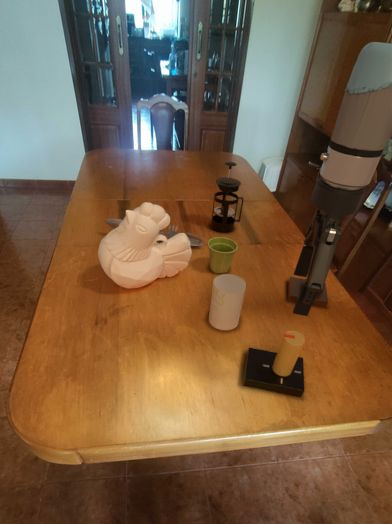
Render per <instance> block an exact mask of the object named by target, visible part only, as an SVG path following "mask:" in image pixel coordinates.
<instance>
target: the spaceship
mask: <svg viewBox="0 0 392 524" xmlns="http://www.w3.org/2000/svg"><path fill="white" fill-rule="evenodd" d="M123 220H124V219H120V218H116V217H106V218H105V219H104V222H105V224H106V225H108V226H110V227H112V228H117V227H118V226H119V224H120V223H121V222H122V221H123ZM178 227H179V226H177V225H176V226H175V225H174V224H173V225H172V224H169V225H168V230H167V231H166V232H164V231H163V229H162V230H160V231H159V233H158V234H162V235H164V236H165V237H166V238H167V240H168V239H170V238H171V237H173V236H175V235H177V234H178ZM184 233H185V234H186V235H187V237H188V239H189V241H190V247H202V246H204V242H205V240H204V239H202V238H201V237H199V236H197V235H195V234H194V233H191V232H184Z"/></svg>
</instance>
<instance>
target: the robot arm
mask: <svg viewBox="0 0 392 524" xmlns="http://www.w3.org/2000/svg"><path fill="white" fill-rule="evenodd" d="M329 139H330V140H329V142H328V146H327V152H322V153H321V155H320V157H319V159H320V160H321V161H322V164H321V168H320V170H319V175H320V177H319V178H316V179H317V180H316V181H315V185H314V187H313V191H312V194H311V197H310V203H311V206H312V207H314V208H315V212H314V213H313V216H312V218H311V220H310V223H309V225H308V227H307V229H306V232H305V233H304V240H303V246H302V248H301V251H300V254H299V257H298V260H297V263H296V265H295V269H294V271H293V276H298V277H303V278H305V279H306V282H302V283H301V286H302V288H301V291H300V294H299V296H298V299H297V302H295V305H294V307H293V309H292V314H293V315H299V316H303V317H308V316H309V313H310V311H311V309H312V308H313V305H312V304H313V302H314V300H315V297H316V295H317V293H318V292H322V291H323V289H324V284H325V283H326V282H327V279H328V278H327V277H328V274H329V270H330V268H331V266H332V265H331V264H332V261H333V258H334V255H335V252H336V247H337V245H338V243H339V240H340V237H341V236H342V233H343V232H342V230H343V229H341V226H342V223H341V222H340V220H341V218H342V217H344V216H351V215H354V214H355V213H356V212H357V211H358V209H359V207H360V205H361V202H362V201H363V198H364V196H365V194H366V191H367V189H366V186H368V185H370V183H371V181H372V179H373V177H374V174H375V172H376V169H377V167H378V165H379V162H380V161H381V158H382V156H383V153H384V150H385V149H386V146H387V144H388V142H389V140H392V43H387V42H380V41H371V42H368V43H367V44H365V46H363V48H362V49H361V50H360V52H359V54H358V56H357V59H356V61H355V63H354V65H353V67H352V71H351V74H350V77H349V79H348V81H347V84H346V85H345V89H344V94H343V97H342V101H341V105H340V106H339V111H338V114H337V117H336V120H335V124H334V127H333V130H332V134H331V137H330V138H329Z"/></svg>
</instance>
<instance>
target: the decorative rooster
mask: <svg viewBox="0 0 392 524" xmlns="http://www.w3.org/2000/svg"><path fill="white" fill-rule="evenodd" d="M122 220H123V221H122V222H121V223H120V224H119V226H118V227H117V228H116V227H114V228H113V229H112V230H110V231H109V232H108V233H107V234H106V235H105V236H104V237H103V238H102V239H101V240H100V242H99V245H98V250H97V257H98V260H99V263H100V266H101V269H102V270H103V272H104V273H105V275H106V276H107V277H108V278H110V280H112V281H113V282H114V283H115V284H116V285H118V286H119V287H122V288H123V289H139V288H142V287H145V286H147V285H149V284H151V283H153V282H154V281H156V280H157V279H164V278H166V277H169V278H171V277H174V276H175V275H177V274H179V272H183V271H184V270H185V269H187V268H188V266H189V262H190V260H191V257H192V255H193V249H192V246H190V241H189V239H188V237H187V235H186V234H185V233H186V232H178V233H177V235H175V236H173V237H171V238H170V239H168V238H166V236H164V235H162V234H158V233H159V231H160V230H162V231H163V230H164V229H166V228H167V227H169V225H171V224H170V223H171V217H170V215H169V213H167V212H166V210H165V209H164V207H162V206H161V205H158V204H157V203H154V204H153V203H152V202H148V201H145V202H142V203H141V204H140V206H137V207H135V208H134V209H133V210H130V209H126V210H125V216H124V217H123V219H122ZM167 239H168V240H167ZM159 241H162V242H159Z"/></svg>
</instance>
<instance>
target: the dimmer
mask: <svg viewBox="0 0 392 524" xmlns="http://www.w3.org/2000/svg"><path fill="white" fill-rule="evenodd" d="M276 355H277V352H275V351H270V350H264V349H261V348H260V349H259V348H256V347H248V349H247V353H246V360H245V366H244V373H243V380H242V381H243V382H242V386H244V387H248V388H253V389H258V390H262V391H268V392H272V393H278V394H282V395H286V396H292V397H297V398H302V396H303V395H304V392H305V373H304V369H305V368H304V357H301V356H298V359H297V361H296V363H295V365H294V368H293V370H292V372H291V374H290V375H288V376H279V375H277V374H276V373H275V372H274V371H273V369H272V366H273V363H274V360H275V358H276Z"/></svg>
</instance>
